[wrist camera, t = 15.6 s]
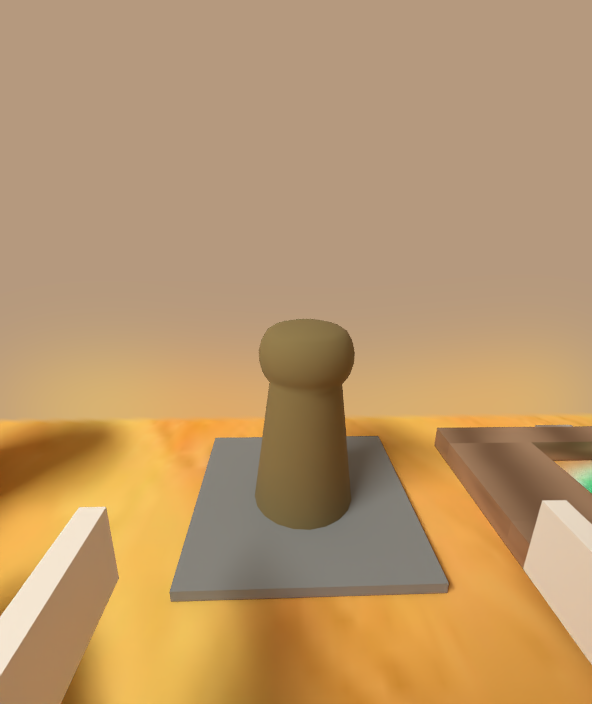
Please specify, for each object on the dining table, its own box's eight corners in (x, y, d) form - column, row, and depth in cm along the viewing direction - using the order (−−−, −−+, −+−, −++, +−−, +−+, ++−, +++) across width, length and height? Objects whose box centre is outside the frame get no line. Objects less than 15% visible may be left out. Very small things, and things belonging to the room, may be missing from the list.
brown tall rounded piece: (269, 458, 27) (268, 308, 23) (354, 470, 25) (366, 314, 22) (240, 520, 21) (233, 333, 17) (347, 538, 20) (362, 343, 16)
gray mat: (377, 442, 30) (378, 436, 30) (446, 592, 18) (448, 583, 17) (216, 444, 29) (215, 437, 29) (170, 601, 17) (169, 591, 17)
